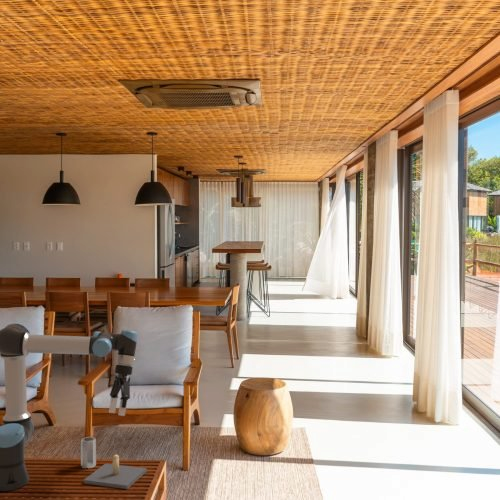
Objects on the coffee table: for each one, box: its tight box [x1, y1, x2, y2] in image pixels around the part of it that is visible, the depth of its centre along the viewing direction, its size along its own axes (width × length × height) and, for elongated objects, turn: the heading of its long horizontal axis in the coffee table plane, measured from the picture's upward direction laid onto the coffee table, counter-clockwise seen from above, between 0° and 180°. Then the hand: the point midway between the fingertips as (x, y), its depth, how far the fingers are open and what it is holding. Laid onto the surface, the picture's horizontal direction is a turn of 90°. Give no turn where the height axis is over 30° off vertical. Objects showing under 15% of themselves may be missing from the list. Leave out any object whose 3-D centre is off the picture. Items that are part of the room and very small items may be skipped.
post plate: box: [83, 454, 148, 490], centre depth 242 cm, size 20×18×10 cm
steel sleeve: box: [80, 436, 97, 469], centre depth 254 cm, size 6×6×12 cm
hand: (116, 414), depth 248 cm, fingers open, 13 cm apart
